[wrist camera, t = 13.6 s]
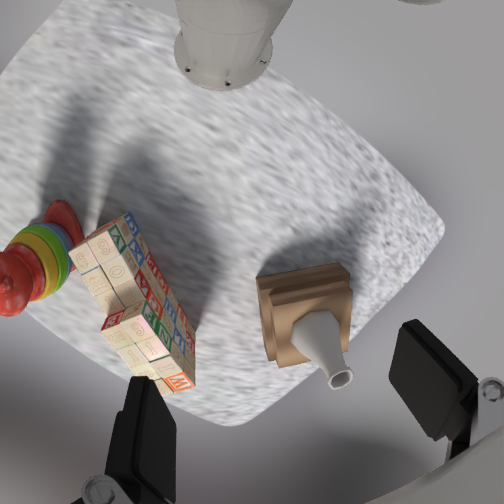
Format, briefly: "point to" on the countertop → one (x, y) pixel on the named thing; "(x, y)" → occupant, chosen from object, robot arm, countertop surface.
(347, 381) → the flask
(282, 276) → the stepped wooden pedestal
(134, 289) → the stack of blocks
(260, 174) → the countertop surface
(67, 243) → the stacking bear
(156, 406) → the robot arm
